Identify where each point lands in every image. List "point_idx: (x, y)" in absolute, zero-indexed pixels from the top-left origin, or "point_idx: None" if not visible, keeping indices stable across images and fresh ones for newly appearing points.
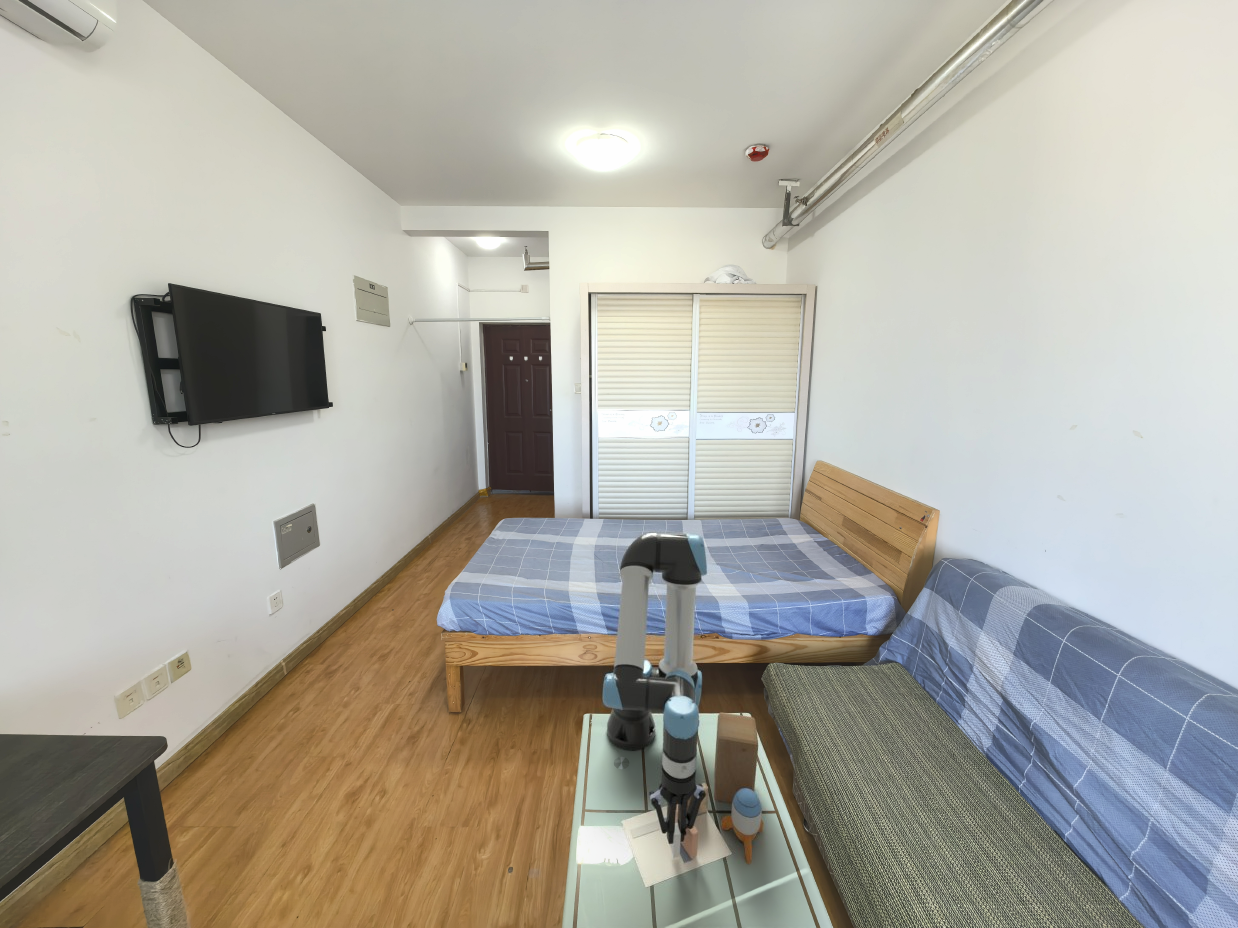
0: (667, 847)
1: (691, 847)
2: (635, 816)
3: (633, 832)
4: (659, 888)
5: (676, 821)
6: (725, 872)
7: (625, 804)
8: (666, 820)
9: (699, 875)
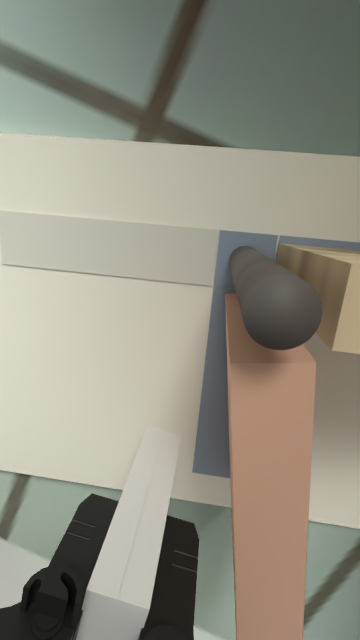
0: (155, 380)
1: (232, 538)
2: (58, 139)
3: (13, 234)
4: (53, 481)
5: (229, 409)
6: (342, 558)
7: (35, 9)
8: (38, 578)
9: (230, 518)
